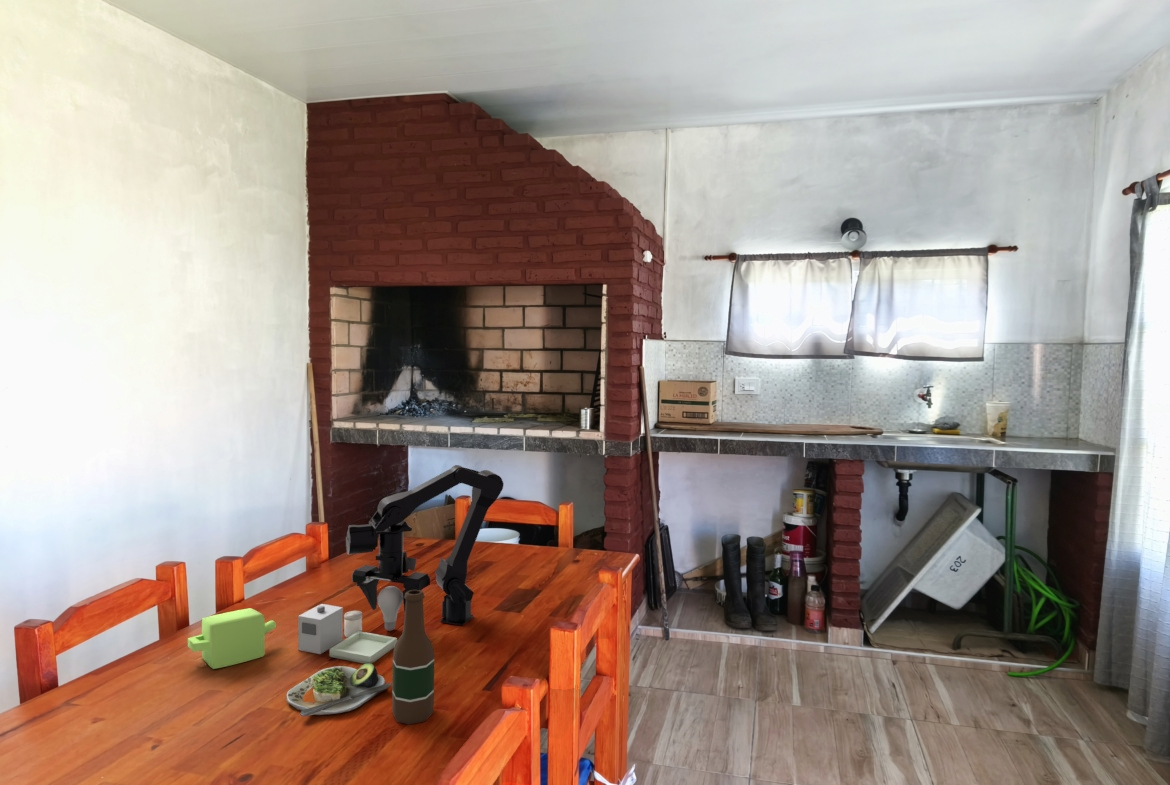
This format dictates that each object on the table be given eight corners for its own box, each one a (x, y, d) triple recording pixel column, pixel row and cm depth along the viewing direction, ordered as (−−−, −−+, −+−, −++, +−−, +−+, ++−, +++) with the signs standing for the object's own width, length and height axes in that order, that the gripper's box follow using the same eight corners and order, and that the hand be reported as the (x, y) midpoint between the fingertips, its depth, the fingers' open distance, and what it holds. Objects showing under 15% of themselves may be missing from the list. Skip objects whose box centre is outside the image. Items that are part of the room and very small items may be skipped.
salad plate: (336, 734, 129) (336, 709, 128) (261, 712, 135) (261, 689, 135) (401, 686, 146) (401, 665, 146) (332, 669, 153) (332, 649, 153)
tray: (397, 645, 165) (397, 637, 165) (370, 664, 155) (370, 656, 155) (358, 638, 168) (358, 631, 168) (329, 656, 158) (329, 648, 158)
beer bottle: (395, 704, 139) (397, 584, 137) (436, 703, 139) (437, 584, 138) (388, 725, 131) (389, 599, 129) (430, 725, 132) (432, 599, 130)
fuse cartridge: (365, 632, 172) (365, 612, 172) (355, 638, 168) (355, 618, 168) (351, 629, 173) (351, 609, 173) (340, 636, 170) (340, 615, 169)
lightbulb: (395, 636, 170) (396, 592, 169) (372, 634, 171) (372, 589, 170) (407, 627, 176) (407, 583, 175) (384, 624, 177) (384, 581, 176)
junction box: (343, 639, 167) (343, 602, 167) (319, 654, 159) (319, 615, 159) (322, 635, 169) (322, 599, 169) (297, 650, 161) (297, 612, 160)
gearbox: (269, 639, 168) (269, 600, 167) (285, 651, 160) (285, 610, 160) (184, 660, 155) (184, 617, 155) (198, 674, 148) (198, 629, 148)
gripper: (441, 545, 177) (440, 606, 178) (377, 537, 183) (377, 596, 184) (418, 557, 166) (417, 622, 168) (350, 548, 172) (350, 611, 173)
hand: (390, 612), depth 173 cm, fingers open, 9 cm apart
